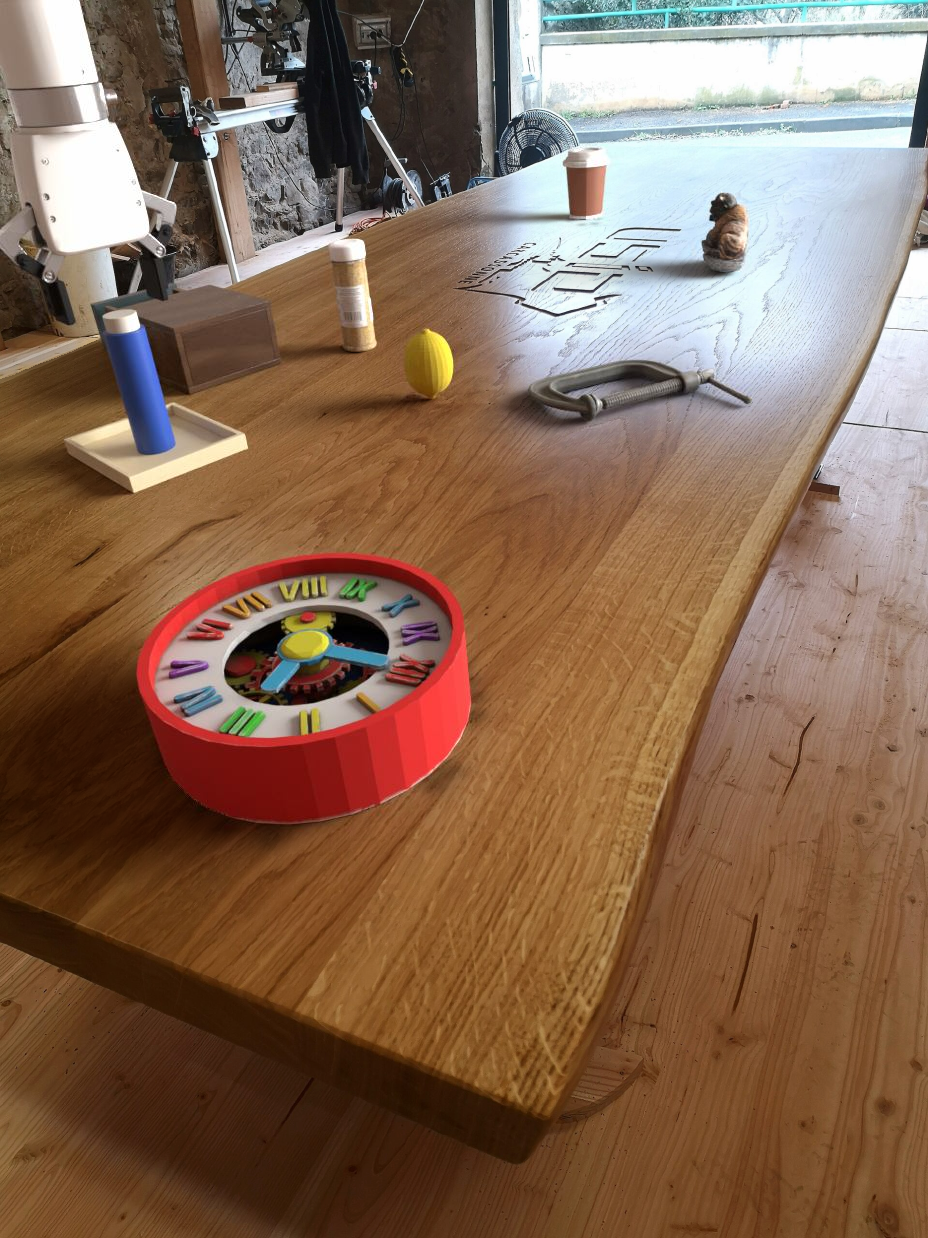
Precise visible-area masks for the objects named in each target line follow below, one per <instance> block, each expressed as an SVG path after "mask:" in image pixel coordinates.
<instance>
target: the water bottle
mask: <svg viewBox="0 0 928 1238" xmlns="http://www.w3.org/2000/svg"><path fill="white" fill-rule="evenodd" d="M102 318H103V321H104V324H105V328H106V330H105V331H103V336H104V340H105V343H106V346H107V350H108V351H107V353H108V356H109V359H110V363H111V367H112V370H113V373H114V376H115V379H116V384H117V386H118V390H119V393H120V397H121V400H122V405H123V407H124V410H125V414H126V416H127V417H126V418H128V421H129V424H130V427H131V431H132V434H133V437H134V441H135V444H136V448H137V451H138V452H139V453H141V454H145V455H153V454H159V453H163V452H166V451H168V450H170V449H172V448H173V447H174V446H175V445H176V442H175V438H174V435H173V431H172V427H171V424H170V420H169V416H168V412H167V409H166V402H165V397H164V395H163V391H162V387H161V384H160V383H161V382H159V379H158V375H157V371H156V368H155V364H154V360H153V357H152V353H151V349H150V345H149V342H148V338H147V334H146V330H145V327H144V325H142V324H139V321H138V317H137V313H136V311H135V310H130V309H124V310H117V311H112V312H109V313H106V314H104V315H103V317H102Z"/></svg>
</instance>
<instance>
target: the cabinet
mask: <svg viewBox="0 0 928 1238" xmlns="http://www.w3.org/2000/svg"><path fill="white" fill-rule="evenodd" d="M124 309H130V310H135V311H136V313H137V317H138V321H139V324H142V325H144V327H145V330H146V334H147V338H148V342H149V345H150V349H151V353H152V357H153V360H154V364H155V368H156V371H157V375H158V379H159V383H161V384H164V385H167V386H169V387H171V388H172V389H173V388H174V389H176V390H178V391H180V392H183V393H185V394H188V395H193V394H195V393H199V392H201V391H204V390H207V389H210V388H213V387H216V386H220V385H222V384H226V383H228V382H232V381H234V380H237V379H240V378H242V377H246V376H248V375H252V374H254V373H257V372H261V371H263V370H267V369H269V368H272V367H275V366H279V365H281V364H282V361H281V353H280V349H279V343H278V338H277V333H276V328H275V327H276V326H275V321H274V317H273V312H272V306H271V301H270V300H269V299H266V298H261V297H257V296H254V295H250V294H248V293H247V294H245V293H243V292H239V291H235V290H232V289H227V288H224V287H220V286H216V285H212V284H207V285H206V284H205V285H202V286H198V287H195V288H192V289H191V288H190V289H188V290H186V291H183V292H180V293H176V294H172V295H168V300H166V301H160V300H158V299H153V300H150V301H146V302H142V303H138V304H134V305H131V306H127V307H123V308H119V309H117V310H124Z"/></svg>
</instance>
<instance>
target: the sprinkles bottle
mask: <svg viewBox="0 0 928 1238" xmlns="http://www.w3.org/2000/svg"><path fill="white" fill-rule="evenodd" d="M327 247H328V254H329V260H330V263H331V266H332V274H333V279H334V281H333V282H334V290H335V297H336V303H337V310H338V317H339V324H340V327H341V333H342V341H343V344H342V347H343V349H344V350H345V351H348V352H351V353H362V352H367V351H370V350H372V349H374V348H375V347H376V346H377V339H376V334H375V327H374V314H373V308H372V300H371V297H370V296H371V295H370V288H369V281H368V272H367V266H366V246H365V242H364V240H362V239H361V238H360V239H359V238H345V239H338V240H334V241H332V242H329V243H328V246H327Z"/></svg>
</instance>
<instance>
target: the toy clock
mask: <svg viewBox="0 0 928 1238" xmlns="http://www.w3.org/2000/svg"><path fill="white" fill-rule="evenodd" d="M467 653H468V652H467V641H466V631H465V620H464V612H463V611H462V608H461V606H460V603H459V601H458V599H457V597H456V596H455V595H454V594H453V592H452V591H451V590H450V589H449V587H448V586H447V585H446V584H444V583H443V582H442V581H440V580H439V579H438V578H437V577H436V576H435V575H433V574H432V573H430V572H427V571H426V570H423V569H422V568H420V567H417V566H416V565H413V564H410V563H407V562H405V561H401V560H399V559H395V558H389V557H385V556H380V555H375V554H366V553H356V552H325V553H324V552H323V553H311V554H301V555H296V556H290V557H286V558H285V557H284V558H279V559H275V560H271V561H267V562H263V563H260V564H256V565H253V566H250V567H247V568H245V569H241V570H239V571H236V572H233V573H230V574H229V575H226V576H224V577H222V578H219V579H218V580H216V581H213V582H211V583H209V584H208V585H205V586H204V587H202V588H201V589H199V590H198V591H196V592H194V593H192V594H190V595H189V596H187V597H186V598H185V599H183V601H180V603H178V604H177V605H176V606H174V607H173V608H172V609H171V610H170V611H169V612H168V613H167V614H166V615H165V616H164V617H163V618H162V619H161V620H160V621H158V623H157V624H156V625H155V626H154V627H153V629H152V630H151V632H150V634H149V635H148V637H147V638H146V640H145V641H144V643H143V646H142V648H141V650H140V653H139V655H138V659H137V665H136V673H135V674H136V679H137V686H138V691H139V694H140V697H141V699H142V702H143V705H144V708H145V711H146V714H147V717H148V720H149V722H150V723H149V724H151V725H150V726H151V729H152V732H153V734H154V737H155V739H156V743H157V745H158V749H159V751H160V755H161V758H162V759H163V763H164V766H165V768H166V767H167V768H166V770H167V769H168V770H167V771H168V773H169V772H170V773H169V775H170V774H171V775H170V777H171V776H172V777H171V779H172V780H173V781H174V780H175V782H176V783H177V784H178V785H179V786H180V787H181V788H182V789H183V790H184V791H185V792H186V793H187V794H188V795H189V796H191V797H193V799H192V800H193V801H195V800H194V799H196V800H197V801H198V802H200V803H202V804H203V805H204V806H203V805H202V804H200V803H199V804H200V805H201V806H203V807H204V808H206V809H208V808H210V809H209V810H210V811H213V812H216V811H219V812H220V813H219V812H216V813H217V814H221V815H224V814H225V815H224V816H226V817H229V818H232V819H236V820H241V821H247V822H253V823H256V824H272V825H273V824H274V825H296V824H306V823H308V824H309V823H317V822H318V823H319V822H324V821H329V820H334V819H337V818H342V817H346V816H351V815H354V814H356V813H360V812H363V811H365V810H368V809H371V808H373V807H376V806H379V805H382V804H383V803H386V802H387V801H389V800H391V799H393V798H395V797H397V796H399V795H401V794H403V793H405V792H407V791H408V790H410V789H411V788H412V787H414V786H415V785H417V784H418V783H420V782H421V781H422V780H424V779H425V778H427V777H428V776H430V774H432V773H433V772H434V771H435V770H436V769H437V768H438V767H439V766H440V765H441V764H442V763H443V762H444V761H445V760H446V759H448V757H449V756H450V754H451V752H452V751H453V750H454V748H455V747H456V745H457V744H458V743H459V741H460V740H461V738H462V736H463V733H464V731H465V728H466V726H467V724H468V722H469V719H470V718H469V716H470V712H471V705H472V698H471V687H470V677H469V664H468V663H469V662H468V654H467ZM175 782H174V783H175ZM176 783H175V784H176ZM177 784H176V785H177ZM178 785H177V786H178ZM179 786H178V787H179ZM180 787H179V788H180ZM181 788H180V789H181ZM182 789H181V790H182ZM183 790H182V791H183ZM184 791H183V792H184ZM185 792H184V793H185ZM186 793H185V794H186ZM187 794H186V795H187ZM188 795H187V796H188ZM189 796H188V797H189ZM197 801H195V802H197ZM198 802H197V803H198ZM205 806H206V807H205ZM207 807H208V808H207ZM211 809H212V810H211ZM214 810H215V811H214Z"/></svg>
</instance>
